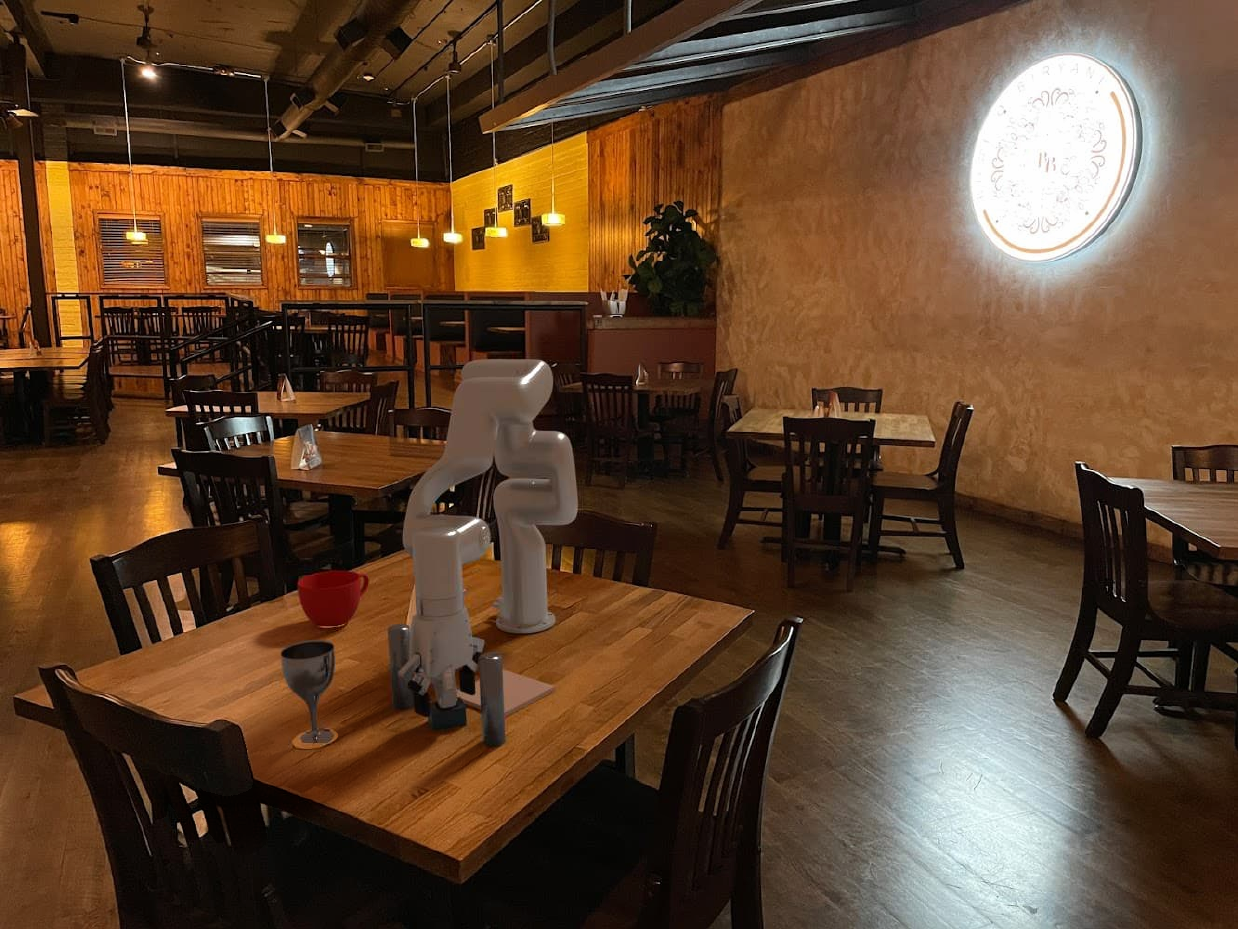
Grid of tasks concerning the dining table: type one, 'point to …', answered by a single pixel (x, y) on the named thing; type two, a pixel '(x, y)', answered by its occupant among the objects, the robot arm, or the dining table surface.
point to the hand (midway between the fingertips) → (445, 703)
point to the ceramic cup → (331, 596)
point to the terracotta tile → (512, 692)
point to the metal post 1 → (399, 665)
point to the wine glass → (310, 679)
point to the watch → (446, 703)
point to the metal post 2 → (492, 699)
